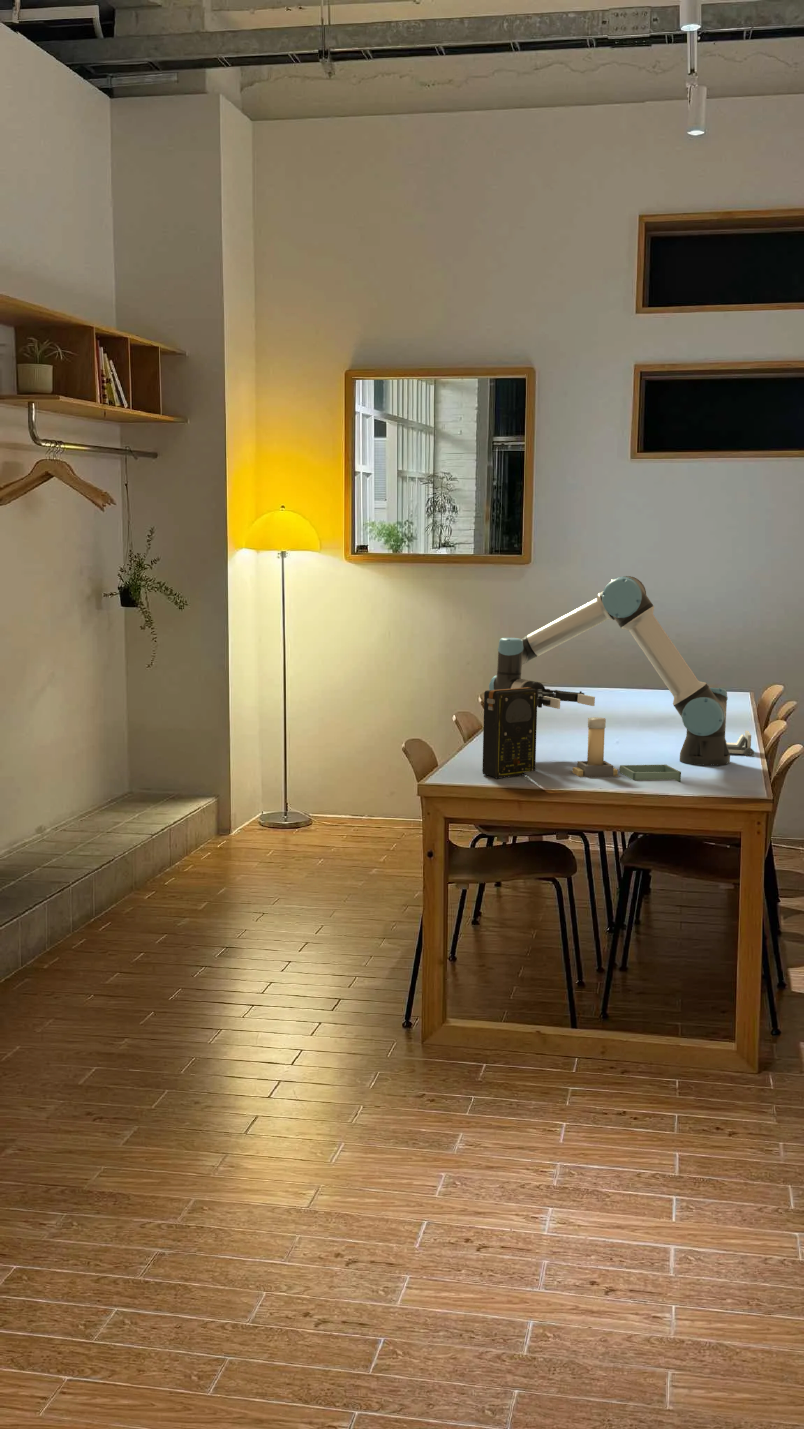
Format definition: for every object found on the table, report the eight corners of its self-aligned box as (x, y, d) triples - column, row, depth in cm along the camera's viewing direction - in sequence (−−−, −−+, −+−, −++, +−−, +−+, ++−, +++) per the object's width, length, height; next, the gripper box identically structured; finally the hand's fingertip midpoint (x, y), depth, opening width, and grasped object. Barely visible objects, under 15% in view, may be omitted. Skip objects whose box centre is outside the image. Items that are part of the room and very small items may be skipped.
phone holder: (697, 724, 421) (695, 719, 432) (695, 755, 422) (693, 749, 433) (755, 727, 418) (751, 721, 429) (753, 757, 419) (750, 751, 430)
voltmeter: (497, 779, 374) (499, 692, 370) (478, 775, 380) (480, 688, 377) (538, 774, 383) (541, 688, 379) (519, 769, 390) (521, 685, 386)
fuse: (600, 772, 382) (602, 717, 380) (606, 775, 377) (608, 719, 375) (584, 772, 381) (585, 717, 379) (589, 775, 377) (591, 720, 374)
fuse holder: (609, 773, 385) (610, 760, 385) (620, 780, 376) (621, 766, 375) (569, 774, 384) (570, 760, 383) (579, 780, 374) (580, 766, 373)
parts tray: (665, 774, 385) (666, 764, 385) (680, 782, 373) (681, 772, 373) (619, 775, 383) (619, 765, 382) (633, 783, 371) (633, 772, 371)
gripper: (558, 702, 409) (606, 712, 392) (496, 707, 395) (543, 718, 378) (560, 678, 408) (608, 687, 391) (497, 682, 393) (545, 692, 376)
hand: (576, 702), depth 384 cm, fingers open, 13 cm apart
